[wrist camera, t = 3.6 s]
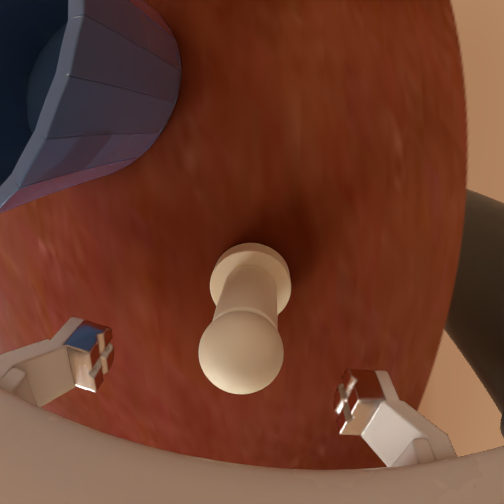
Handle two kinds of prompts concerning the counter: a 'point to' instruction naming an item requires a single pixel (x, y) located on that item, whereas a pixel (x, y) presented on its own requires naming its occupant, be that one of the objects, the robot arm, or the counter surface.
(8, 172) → the cup
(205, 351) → the ivory pawn
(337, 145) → the counter surface
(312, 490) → the robot arm
